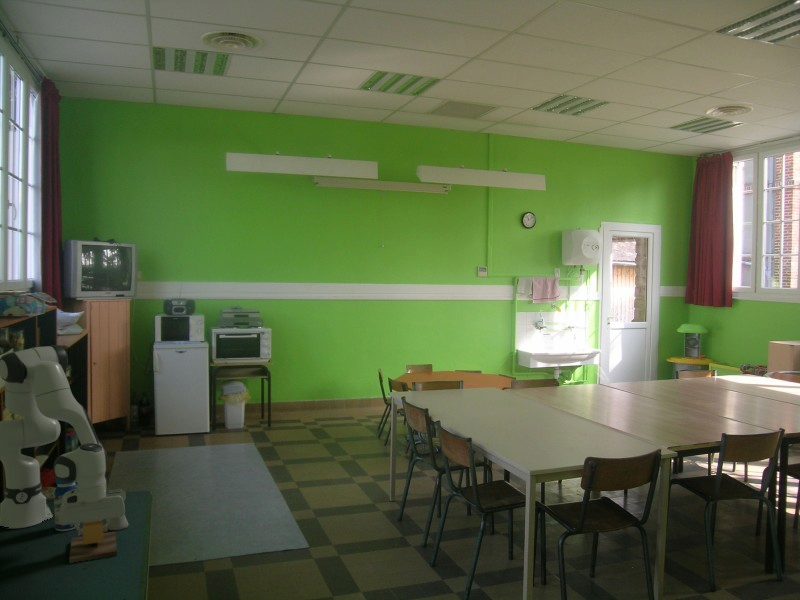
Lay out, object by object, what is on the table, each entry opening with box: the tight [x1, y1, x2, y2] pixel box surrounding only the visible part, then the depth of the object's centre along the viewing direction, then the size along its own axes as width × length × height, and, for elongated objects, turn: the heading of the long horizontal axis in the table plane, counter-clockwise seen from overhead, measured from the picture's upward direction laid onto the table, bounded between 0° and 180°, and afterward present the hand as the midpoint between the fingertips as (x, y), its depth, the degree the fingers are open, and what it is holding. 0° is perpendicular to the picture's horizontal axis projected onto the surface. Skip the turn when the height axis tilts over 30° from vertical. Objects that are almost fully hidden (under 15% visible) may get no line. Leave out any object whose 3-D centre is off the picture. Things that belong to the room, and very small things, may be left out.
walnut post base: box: [68, 531, 118, 564], centre depth 219 cm, size 18×14×6 cm
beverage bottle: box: [53, 477, 81, 532], centre depth 238 cm, size 8×8×20 cm
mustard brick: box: [82, 519, 104, 545], centre depth 219 cm, size 6×6×6 cm
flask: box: [107, 513, 130, 531], centre depth 238 cm, size 7×7×10 cm
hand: (93, 533), depth 219 cm, fingers closed on mustard brick, 6 cm apart
